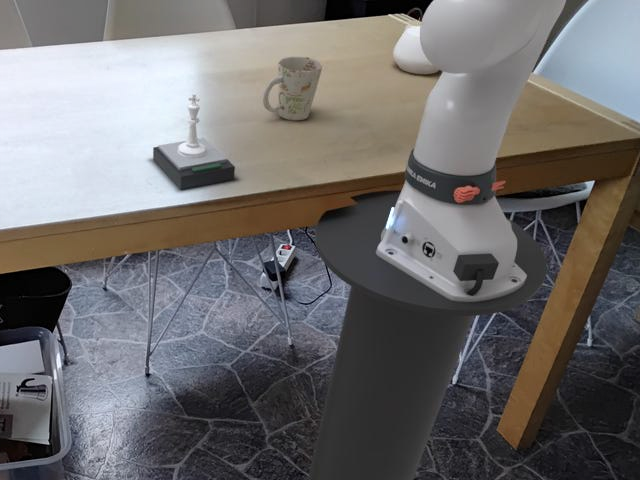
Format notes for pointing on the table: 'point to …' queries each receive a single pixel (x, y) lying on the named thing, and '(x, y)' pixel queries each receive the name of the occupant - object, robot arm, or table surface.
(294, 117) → the mug
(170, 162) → the scale
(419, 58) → the teapot
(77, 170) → the table surface
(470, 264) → the robot arm
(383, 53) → the table surface
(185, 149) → the chess piece
